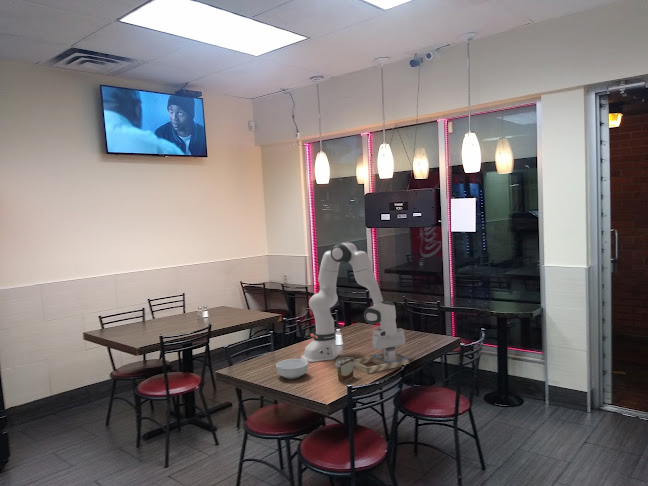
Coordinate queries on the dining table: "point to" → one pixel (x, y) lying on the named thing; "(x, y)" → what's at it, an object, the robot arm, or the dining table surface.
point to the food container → (345, 368)
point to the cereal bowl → (292, 368)
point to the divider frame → (380, 362)
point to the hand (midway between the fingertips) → (389, 354)
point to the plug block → (390, 354)
